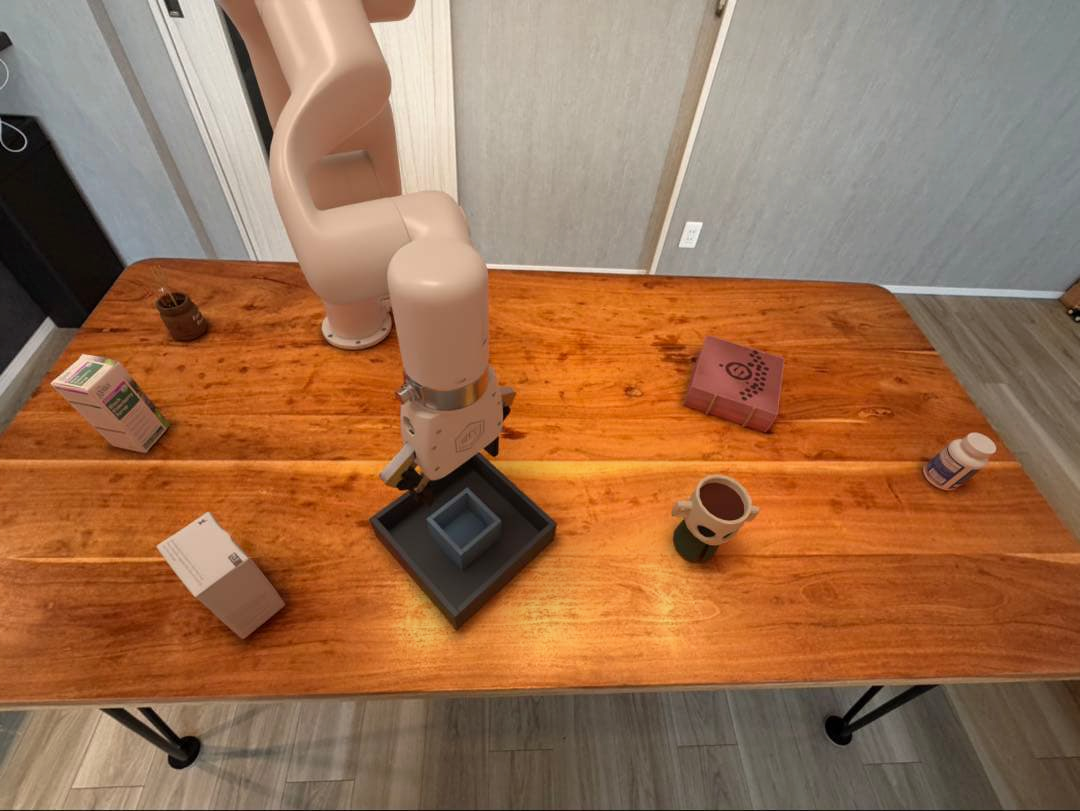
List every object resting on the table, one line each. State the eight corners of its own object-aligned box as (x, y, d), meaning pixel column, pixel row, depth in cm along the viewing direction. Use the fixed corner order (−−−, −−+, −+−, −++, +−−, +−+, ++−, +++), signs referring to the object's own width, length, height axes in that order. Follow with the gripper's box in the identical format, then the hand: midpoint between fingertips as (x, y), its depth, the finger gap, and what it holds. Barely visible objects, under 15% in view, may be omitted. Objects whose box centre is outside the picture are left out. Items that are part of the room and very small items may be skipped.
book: (682, 408, 91) (690, 389, 87) (698, 353, 100) (706, 334, 96) (764, 436, 88) (777, 418, 84) (773, 377, 97) (784, 358, 93)
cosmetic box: (209, 596, 65) (148, 545, 53) (254, 562, 68) (206, 507, 57) (245, 643, 62) (190, 599, 50) (291, 605, 65) (248, 555, 53)
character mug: (658, 565, 72) (684, 521, 62) (653, 518, 76) (676, 470, 66) (735, 570, 72) (774, 527, 62) (725, 523, 76) (760, 476, 67)
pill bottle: (953, 469, 86) (997, 434, 79) (959, 496, 83) (1005, 462, 75) (919, 459, 87) (959, 424, 79) (924, 485, 83) (966, 450, 76)
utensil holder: (175, 346, 92) (140, 291, 83) (169, 325, 95) (134, 270, 86) (211, 335, 94) (181, 280, 85) (204, 315, 97) (174, 261, 88)
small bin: (468, 505, 75) (467, 487, 71) (501, 537, 72) (501, 520, 68) (429, 535, 71) (426, 518, 68) (462, 571, 69) (460, 555, 65)
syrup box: (146, 454, 77) (88, 390, 66) (110, 446, 78) (47, 381, 67) (171, 425, 81) (120, 360, 70) (137, 418, 81) (81, 351, 70)
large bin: (472, 463, 80) (471, 444, 76) (554, 540, 73) (557, 523, 69) (375, 535, 71) (368, 518, 68) (457, 631, 64) (454, 617, 60)
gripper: (391, 451, 41) (415, 542, 54) (543, 350, 50) (531, 450, 63) (339, 397, 44) (374, 496, 57) (490, 311, 53) (490, 414, 66)
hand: (456, 472), depth 60 cm, fingers open, 9 cm apart
